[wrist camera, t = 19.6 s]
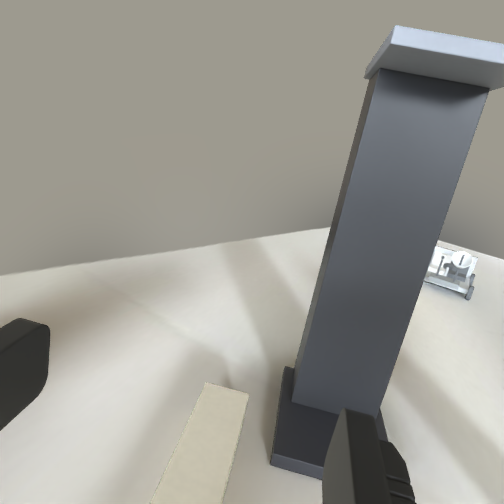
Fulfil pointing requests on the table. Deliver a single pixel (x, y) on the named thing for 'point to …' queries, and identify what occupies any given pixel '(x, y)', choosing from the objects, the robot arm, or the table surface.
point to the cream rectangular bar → (204, 449)
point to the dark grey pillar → (383, 232)
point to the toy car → (452, 270)
